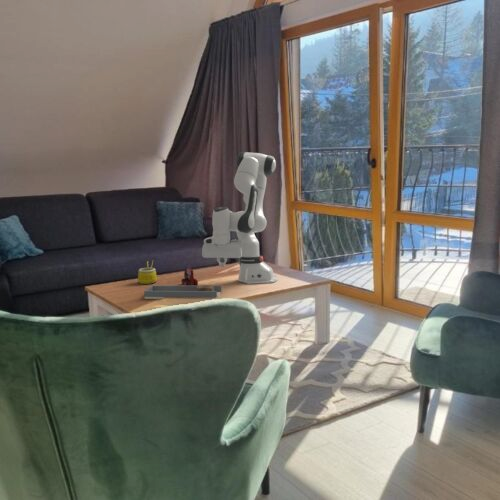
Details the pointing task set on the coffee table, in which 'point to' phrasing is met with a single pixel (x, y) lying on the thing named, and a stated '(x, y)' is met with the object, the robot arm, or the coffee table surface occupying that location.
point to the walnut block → (205, 288)
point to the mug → (147, 275)
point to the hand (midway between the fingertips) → (222, 266)
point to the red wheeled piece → (189, 277)
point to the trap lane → (179, 291)
